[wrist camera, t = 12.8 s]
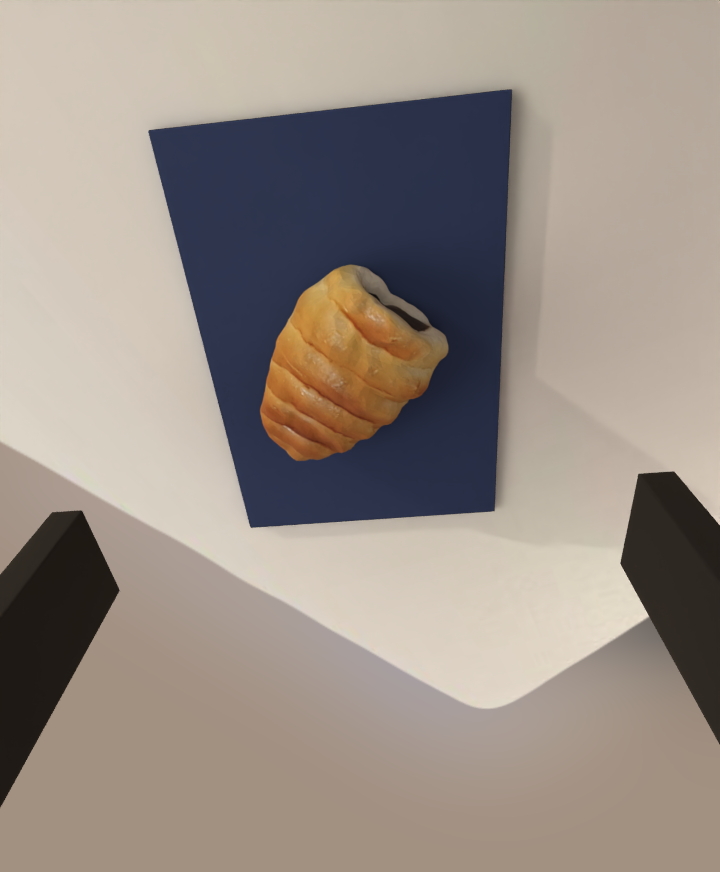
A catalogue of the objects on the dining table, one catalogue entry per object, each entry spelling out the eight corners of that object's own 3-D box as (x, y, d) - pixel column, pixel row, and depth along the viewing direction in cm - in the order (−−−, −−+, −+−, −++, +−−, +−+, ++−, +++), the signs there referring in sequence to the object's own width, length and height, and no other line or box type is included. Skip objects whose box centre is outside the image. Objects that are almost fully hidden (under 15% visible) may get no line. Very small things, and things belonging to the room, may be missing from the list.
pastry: (341, 467, 28) (337, 511, 25) (230, 400, 26) (210, 438, 23) (456, 329, 24) (469, 361, 21) (335, 240, 22) (329, 258, 19)
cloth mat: (509, 89, 20) (512, 88, 20) (493, 507, 30) (494, 511, 30) (151, 130, 21) (147, 130, 20) (251, 523, 31) (250, 528, 30)
